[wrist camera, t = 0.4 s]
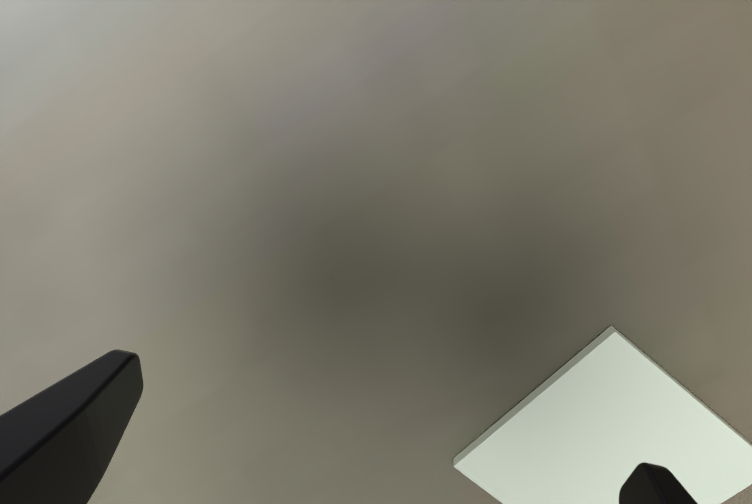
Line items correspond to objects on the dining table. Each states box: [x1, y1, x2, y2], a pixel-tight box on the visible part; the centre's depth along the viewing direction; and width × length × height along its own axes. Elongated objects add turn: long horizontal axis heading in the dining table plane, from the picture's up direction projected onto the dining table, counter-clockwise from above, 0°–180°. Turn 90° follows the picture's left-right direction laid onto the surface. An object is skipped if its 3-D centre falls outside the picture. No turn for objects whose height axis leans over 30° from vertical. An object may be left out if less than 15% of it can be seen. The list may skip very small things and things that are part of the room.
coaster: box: [453, 326, 752, 504], centre depth 26 cm, size 11×11×1 cm
